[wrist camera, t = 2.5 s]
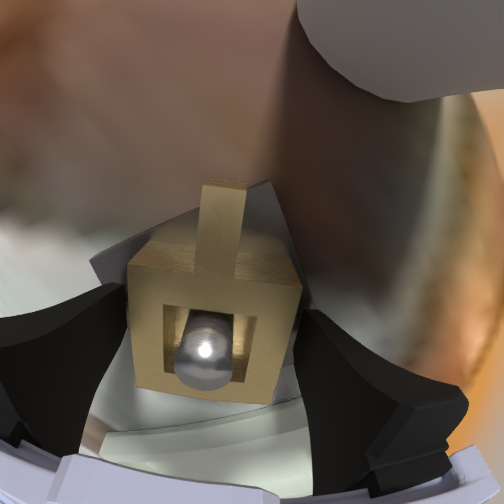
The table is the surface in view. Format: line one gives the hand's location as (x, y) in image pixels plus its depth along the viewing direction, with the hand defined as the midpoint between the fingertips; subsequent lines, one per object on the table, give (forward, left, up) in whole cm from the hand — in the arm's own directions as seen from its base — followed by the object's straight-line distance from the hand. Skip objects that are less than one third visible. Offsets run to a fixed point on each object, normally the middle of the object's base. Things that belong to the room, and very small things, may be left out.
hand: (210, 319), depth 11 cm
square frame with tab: (+1, +1, -1) cm, 1 cm away
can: (+11, +9, -2) cm, 14 cm away
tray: (-5, -13, -1) cm, 14 cm away
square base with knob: (0, 0, -1) cm, 1 cm away
